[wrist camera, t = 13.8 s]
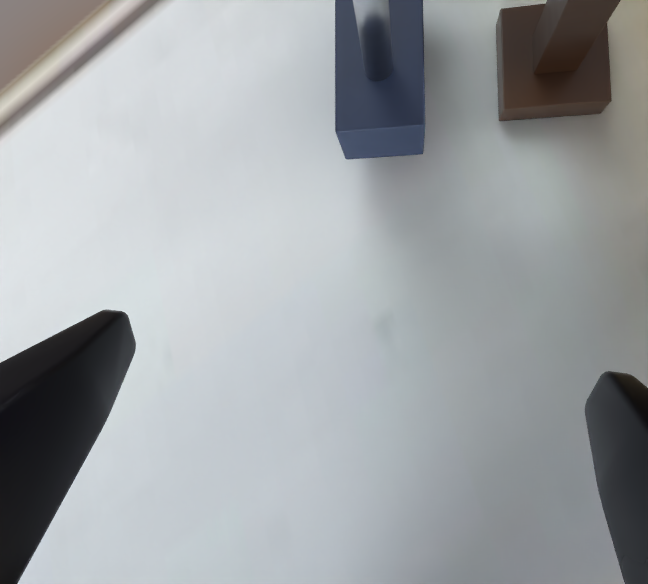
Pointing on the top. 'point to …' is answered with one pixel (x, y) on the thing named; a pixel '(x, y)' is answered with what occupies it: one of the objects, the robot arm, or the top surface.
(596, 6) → the brown hanging stand
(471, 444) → the top surface
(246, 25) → the top surface
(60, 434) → the robot arm
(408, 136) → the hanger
